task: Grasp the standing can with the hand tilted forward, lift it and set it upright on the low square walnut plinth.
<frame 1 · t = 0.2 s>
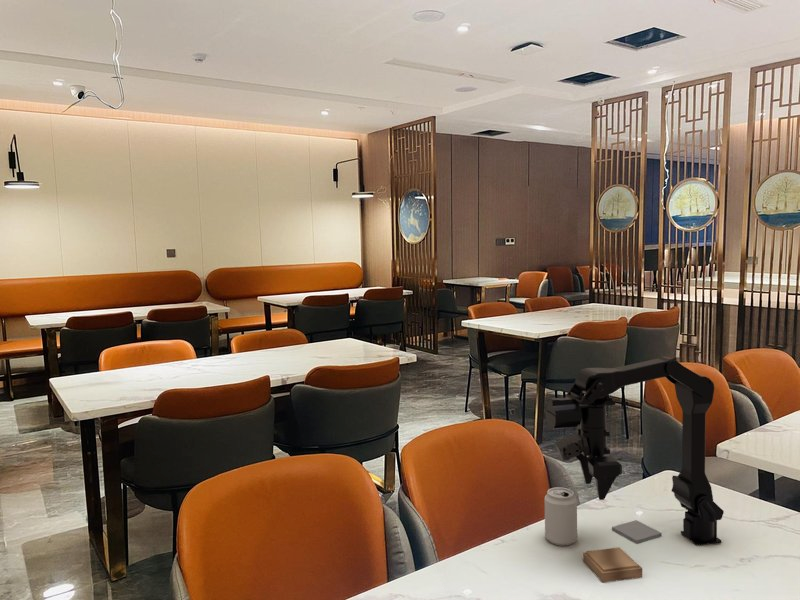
hand: (594, 491, 141), 14 cm above the table, tool pointing down, fingers open, 9 cm apart
plinth: (611, 569, 134), on the table
can: (561, 540, 148), on the table
slate coaster: (636, 533, 150), on the table
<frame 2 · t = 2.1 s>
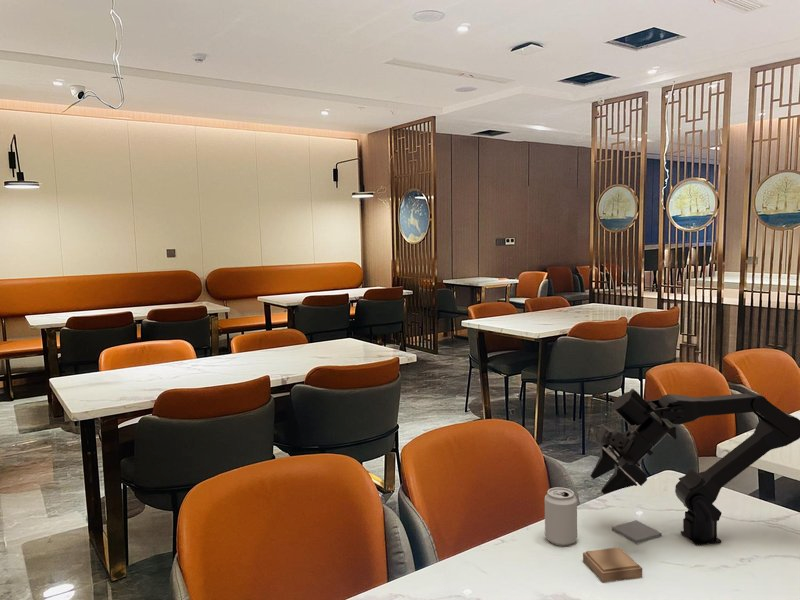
hand: (597, 484, 146), 13 cm above the table, tool tilted 45°, fingers open, 9 cm apart
nothing on the table moved.
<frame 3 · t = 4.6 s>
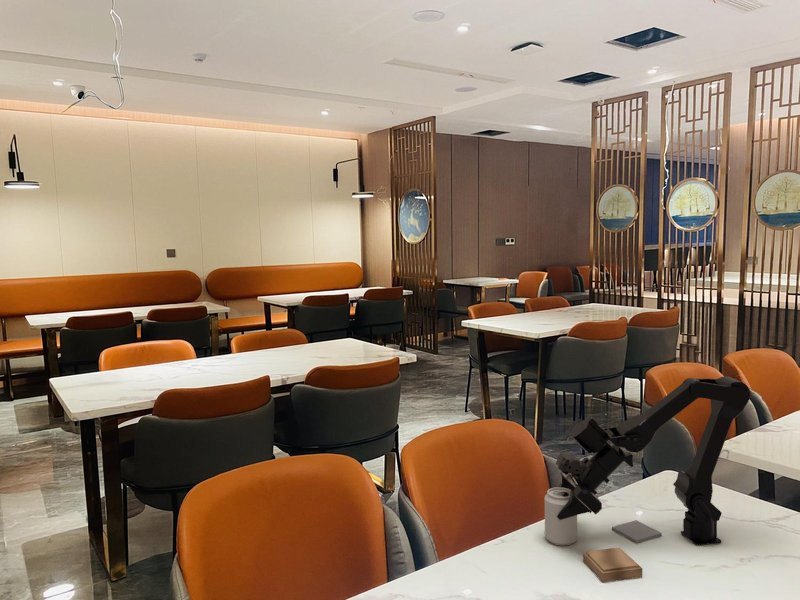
hand: (554, 511, 147), 7 cm above the table, tool tilted 45°, fingers closed on can, 7 cm apart
can: (561, 540, 148), on the table, touching gripper
when the fingers open (10 cm above the table, at t = 8.1 s): can stays where it is, resting on plinth.
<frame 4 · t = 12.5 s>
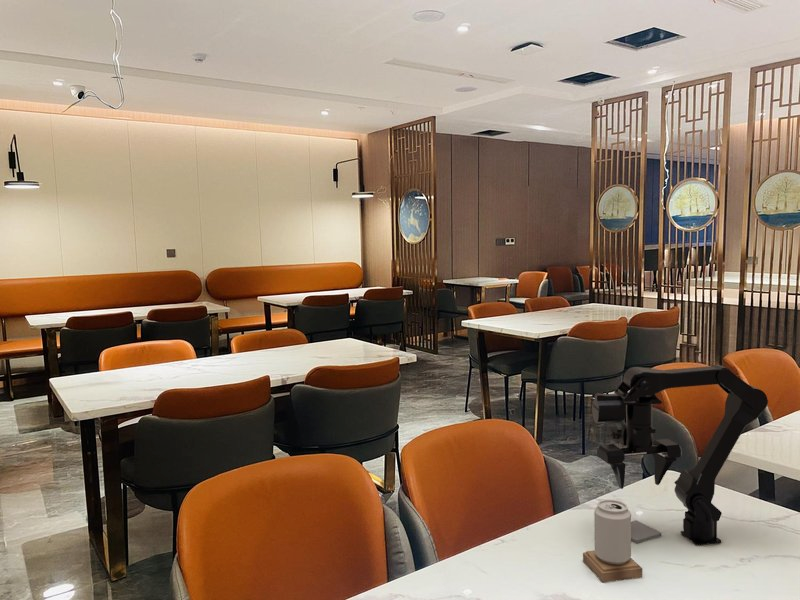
hand: (639, 486, 146), 13 cm above the table, tool pointing down, fingers open, 9 cm apart
can: (612, 558, 134), point 2 cm above the table, touching plinth
at the end: can 0.2 cm from the plinth (horizontally); can tilted 0°; can touching plinth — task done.
